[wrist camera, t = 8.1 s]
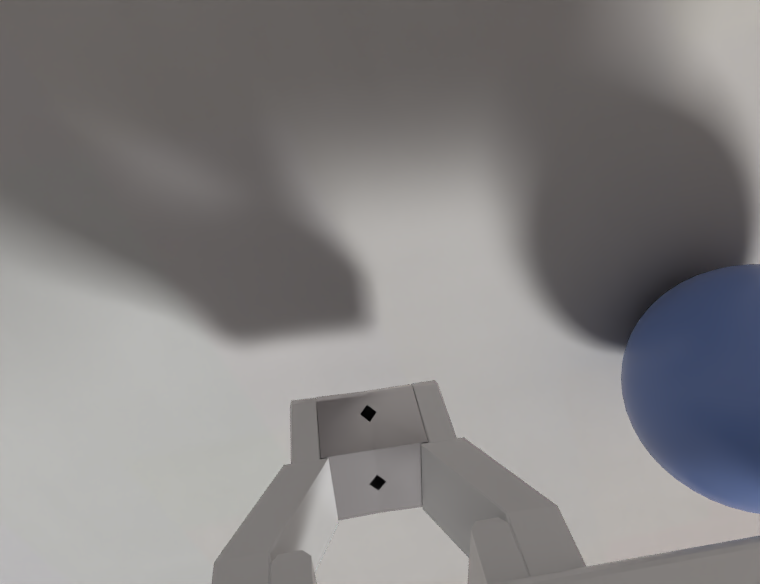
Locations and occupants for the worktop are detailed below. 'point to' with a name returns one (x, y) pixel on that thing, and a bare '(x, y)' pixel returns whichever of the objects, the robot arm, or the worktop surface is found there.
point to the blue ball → (701, 384)
